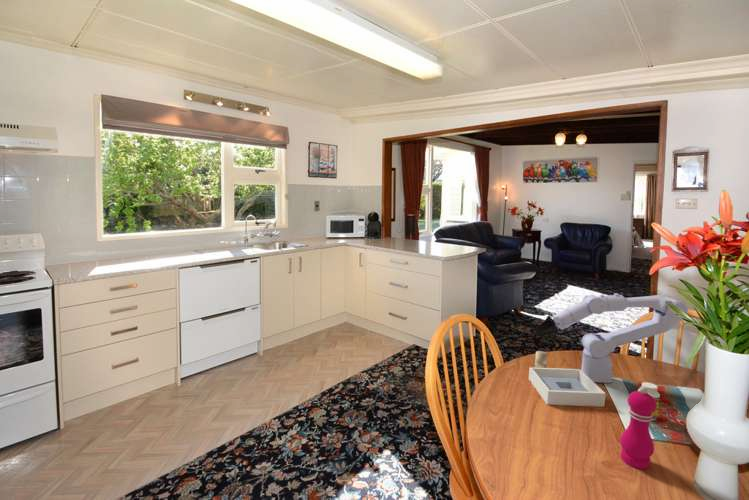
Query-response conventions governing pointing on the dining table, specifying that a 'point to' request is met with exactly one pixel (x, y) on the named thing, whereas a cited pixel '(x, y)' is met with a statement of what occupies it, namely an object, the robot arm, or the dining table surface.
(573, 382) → the bore plate
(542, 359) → the peg
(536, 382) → the tray
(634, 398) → the pepper mill
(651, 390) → the supplement bottle
